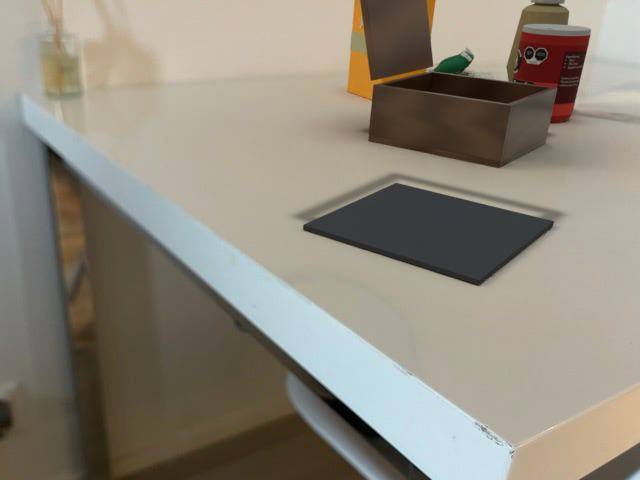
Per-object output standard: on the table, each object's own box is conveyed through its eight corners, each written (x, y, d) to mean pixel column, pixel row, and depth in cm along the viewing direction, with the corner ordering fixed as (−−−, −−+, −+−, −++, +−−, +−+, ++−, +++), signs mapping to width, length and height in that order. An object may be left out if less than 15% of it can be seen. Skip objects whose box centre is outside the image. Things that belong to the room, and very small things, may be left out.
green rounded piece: (444, 89, 113) (474, 65, 110) (430, 71, 113) (460, 47, 109) (450, 80, 121) (478, 58, 118) (437, 64, 120) (465, 41, 117)
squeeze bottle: (495, 93, 101) (518, -39, 93) (510, 85, 107) (533, -39, 99) (550, 100, 97) (579, -37, 89) (563, 92, 103) (591, -37, 95)
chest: (545, 143, 75) (557, 87, 72) (499, 167, 66) (511, 105, 63) (423, 121, 83) (430, 70, 81) (367, 140, 74) (373, 84, 72)
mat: (553, 225, 52) (554, 221, 52) (478, 285, 42) (479, 279, 42) (395, 186, 60) (396, 182, 60) (302, 229, 50) (303, 224, 50)
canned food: (502, 108, 91) (518, 22, 86) (564, 112, 90) (584, 25, 85) (510, 120, 84) (527, 28, 79) (576, 124, 83) (598, 31, 78)
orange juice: (378, 102, 93) (394, -58, 84) (346, 91, 100) (357, -58, 91) (424, 99, 96) (444, -57, 87) (389, 88, 103) (404, -57, 94)
